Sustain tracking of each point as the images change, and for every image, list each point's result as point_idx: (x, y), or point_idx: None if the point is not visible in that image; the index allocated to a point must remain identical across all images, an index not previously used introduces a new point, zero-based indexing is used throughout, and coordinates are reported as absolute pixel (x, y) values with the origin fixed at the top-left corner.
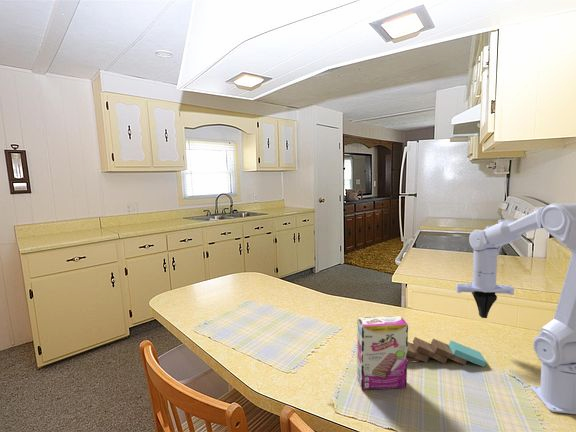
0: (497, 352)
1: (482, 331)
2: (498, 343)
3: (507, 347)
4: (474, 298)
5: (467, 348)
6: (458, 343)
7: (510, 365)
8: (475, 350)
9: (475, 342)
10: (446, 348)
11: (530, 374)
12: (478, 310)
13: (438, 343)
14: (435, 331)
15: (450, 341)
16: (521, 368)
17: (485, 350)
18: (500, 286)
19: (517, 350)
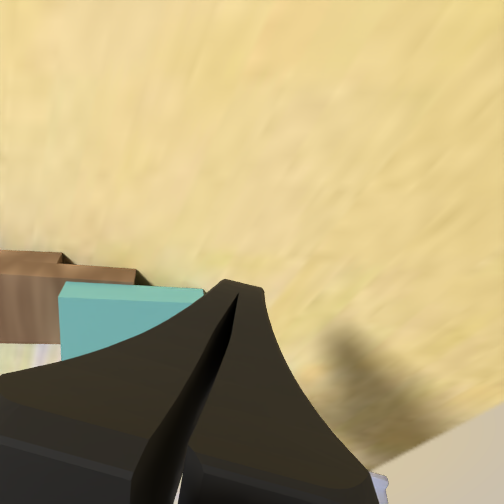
0: (311, 266)
1: (403, 15)
2: (383, 187)
3: (397, 230)
4: (105, 352)
5: (140, 314)
6: (101, 299)
7: (296, 350)
8: (184, 305)
9: (263, 168)
10: (44, 319)
11: (325, 398)
12: (206, 294)
13: (5, 303)
14: (87, 9)
15: (60, 296)
16: (322, 369)
17: (267, 246)
18: None
19: (424, 260)
